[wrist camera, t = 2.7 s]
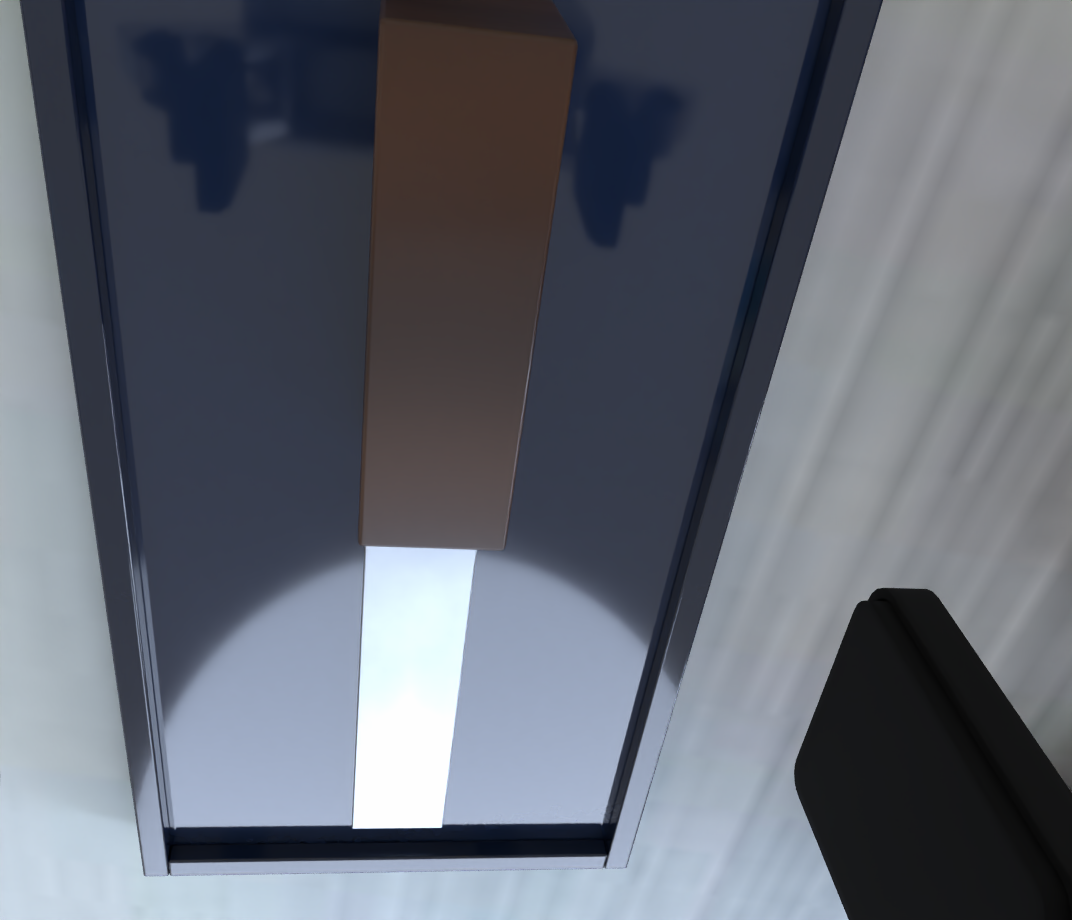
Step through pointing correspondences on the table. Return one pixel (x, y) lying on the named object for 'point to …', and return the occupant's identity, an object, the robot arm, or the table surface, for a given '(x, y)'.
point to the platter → (338, 390)
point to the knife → (446, 357)
